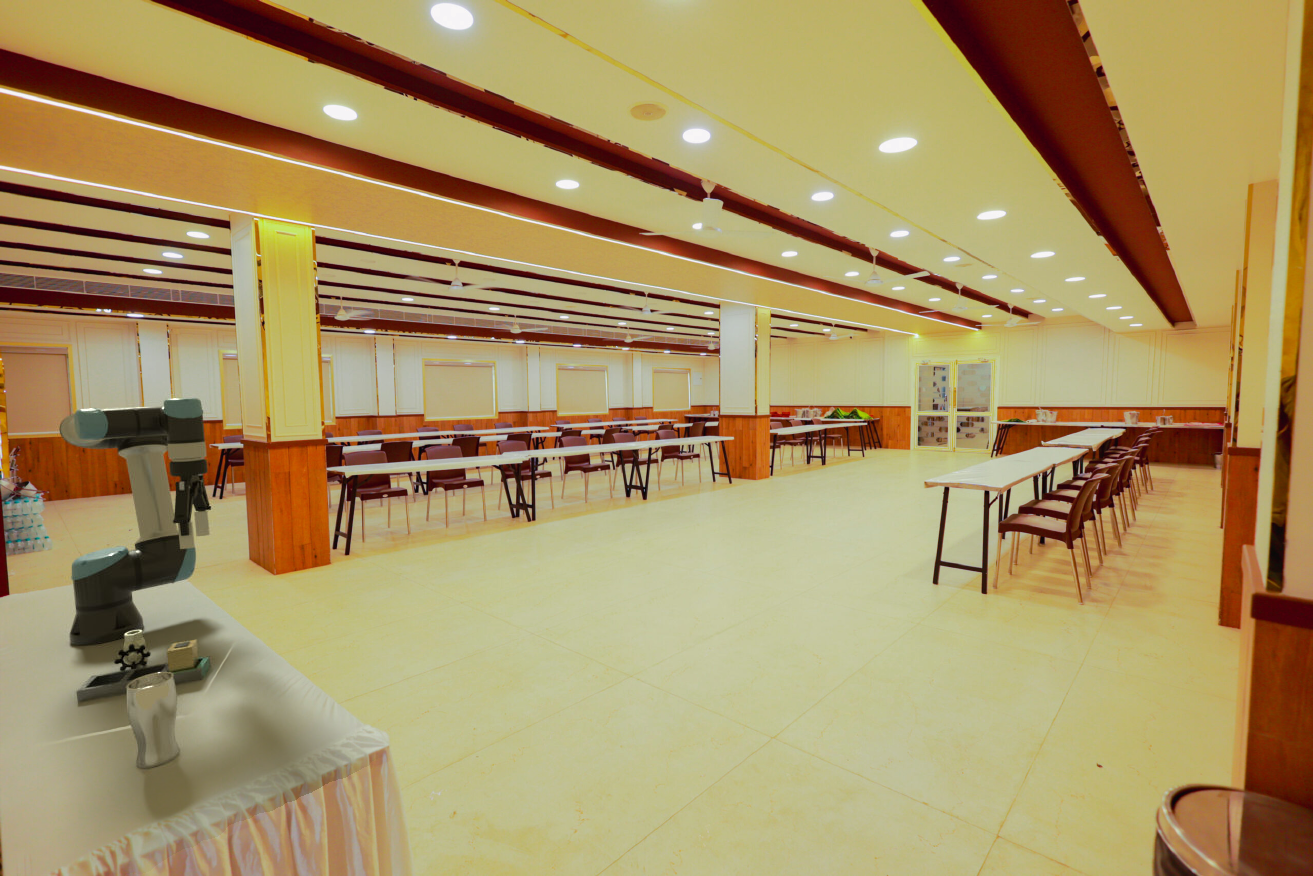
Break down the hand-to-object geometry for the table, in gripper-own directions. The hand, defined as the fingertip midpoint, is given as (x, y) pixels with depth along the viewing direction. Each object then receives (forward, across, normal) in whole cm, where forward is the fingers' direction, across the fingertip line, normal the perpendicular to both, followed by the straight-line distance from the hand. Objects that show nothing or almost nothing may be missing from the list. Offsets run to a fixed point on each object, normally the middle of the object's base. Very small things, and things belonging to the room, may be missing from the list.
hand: (195, 541), depth 152 cm
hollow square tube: (+28, +17, 0) cm, 33 cm away
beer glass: (+29, +52, +5) cm, 60 cm away
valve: (+29, +1, -14) cm, 32 cm away
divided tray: (+29, +17, -7) cm, 34 cm away
